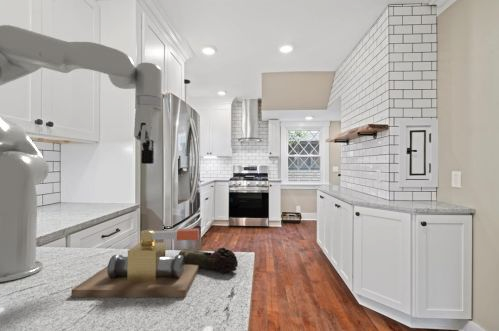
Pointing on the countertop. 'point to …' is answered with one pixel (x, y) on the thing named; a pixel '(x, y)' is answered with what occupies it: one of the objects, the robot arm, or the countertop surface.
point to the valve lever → (168, 235)
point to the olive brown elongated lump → (211, 259)
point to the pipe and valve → (145, 264)
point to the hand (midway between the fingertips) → (147, 163)
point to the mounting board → (136, 285)
